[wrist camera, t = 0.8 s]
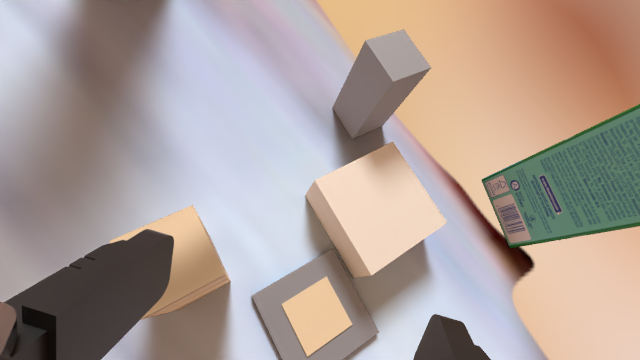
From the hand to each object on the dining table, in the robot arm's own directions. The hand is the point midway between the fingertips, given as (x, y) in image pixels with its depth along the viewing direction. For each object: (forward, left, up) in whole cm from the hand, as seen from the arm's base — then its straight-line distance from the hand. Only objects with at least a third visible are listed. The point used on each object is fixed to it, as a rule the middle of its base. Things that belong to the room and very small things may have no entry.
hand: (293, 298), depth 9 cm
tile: (+4, +4, -21) cm, 22 cm away
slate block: (-13, +20, -21) cm, 32 cm away
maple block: (-5, -4, -21) cm, 22 cm away
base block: (-2, +14, -21) cm, 26 cm away
